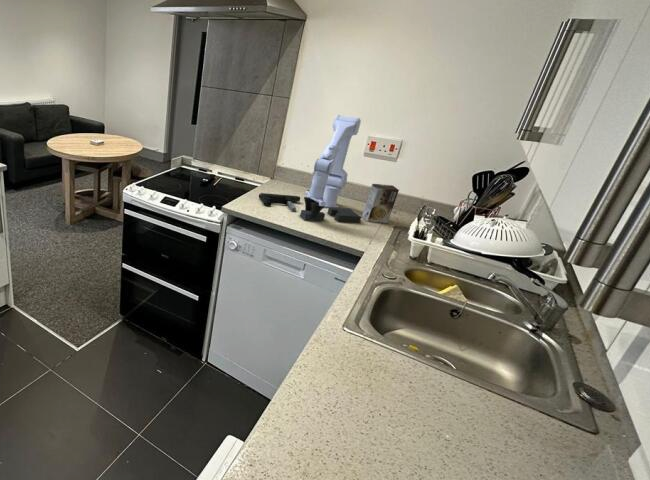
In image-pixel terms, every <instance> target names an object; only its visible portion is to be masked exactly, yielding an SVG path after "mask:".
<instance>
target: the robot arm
mask: <svg viewBox="0 0 650 480" xmlns="http://www.w3.org/2000/svg"><path fill="white" fill-rule="evenodd" d="M361 122H362V121H361V118H360V117H353V116H352V117H351V116H345V115H340V114H337V115H336V116H335V118H334V120H333V124H332V129H333V132H334V133H333V136H332V138H331V139H330V143H329V144H327V145H325V147H324V149H323V151H322V153H321V155H320V157H319V158H317V159H316V161H315V163H314V166H313V172H312V175H313V177H312V181H311V185H310V188H309V190H306V191H305V196H304V197H303V201H304V205H305V206H304V207H305V208H304V210H311V218H315V219H316V217H317V216H318V214H319V212H322V210H324V208H329V207H332V208H340V206H339V205H337V202H338V199H339V195H340V192H341V190H343V189H344V188H345V187H346V184H347V181H348V172H347V171H346V170H345V169H344V166H345V162H346V159H347V155H348V150H349V147H350V144H351V140H352V137H353V136H357V135H358V133H359V130H360V126H361Z"/></svg>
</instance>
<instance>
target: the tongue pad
mask: <svg viewBox="0 0 650 480" xmlns="http://www.w3.org/2000/svg"><path fill="white" fill-rule="evenodd" d="M299 217H300V218H301V219H302V220H303V221H307V222H309V221H311V222H314V221H315V222H321V221H324V220H325V217H326V214H325V212H323V211H320V212H319V214H318V216H317V217H316V219H315V218H311V210H305V209H301V210H300V214H299Z"/></svg>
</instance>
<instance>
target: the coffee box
mask: <svg viewBox="0 0 650 480" xmlns="http://www.w3.org/2000/svg"><path fill="white" fill-rule="evenodd" d="M399 192H400V189H399V188H397V187H396V186H394V185H391V184H382V183H381V184H380V183H372V184H371V187H370V191H369V193H368V196H367V200H366V203H365V206H364V209H363V212H362V215H361V218H363V219H364V220H365V221H366V222H370V223H381V224H382V223H383V224H388V223H389V221H390V218H391V214H392V212H393V210H394V206H395V203H396V201H397V197H398V194H399Z"/></svg>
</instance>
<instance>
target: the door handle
mask: <svg viewBox="0 0 650 480" xmlns="http://www.w3.org/2000/svg"><path fill="white" fill-rule="evenodd" d="M258 198H259V199H260V201H261V202H262V204H263V206H265V207H269V206H271V205H272V204H275V205H276V204H277V205H284V206H287V207H288V208H289V210H290V211H291V212H296V210H297V208H296V206H295V205H294V203H300V201H301V196H299V195H290V194H278V193H267V192H266V193H265V192H260V193H259V194H258Z"/></svg>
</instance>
